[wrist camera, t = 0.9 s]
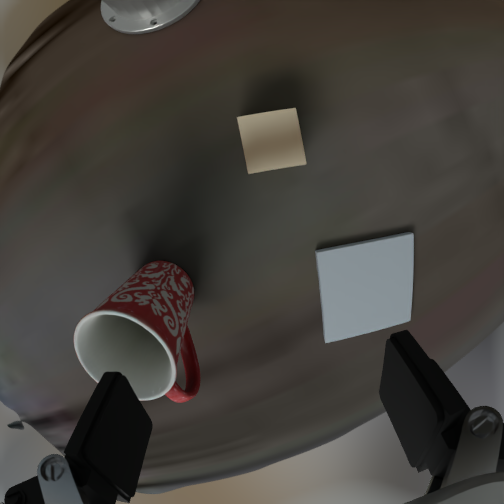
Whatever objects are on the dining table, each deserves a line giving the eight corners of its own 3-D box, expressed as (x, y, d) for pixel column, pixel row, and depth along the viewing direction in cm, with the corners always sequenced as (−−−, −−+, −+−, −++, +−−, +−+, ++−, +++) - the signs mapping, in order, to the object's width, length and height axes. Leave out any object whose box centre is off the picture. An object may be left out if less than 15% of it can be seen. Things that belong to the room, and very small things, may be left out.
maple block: (238, 124, 27) (237, 117, 22) (287, 115, 27) (295, 107, 22) (248, 171, 29) (248, 174, 24) (296, 163, 29) (306, 164, 24)
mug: (113, 275, 32) (54, 336, 19) (171, 236, 31) (123, 291, 18) (174, 353, 35) (149, 432, 23) (233, 324, 34) (227, 409, 21)
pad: (315, 250, 31) (316, 252, 31) (410, 231, 31) (413, 233, 30) (324, 339, 35) (325, 343, 34) (407, 317, 34) (410, 320, 34)
